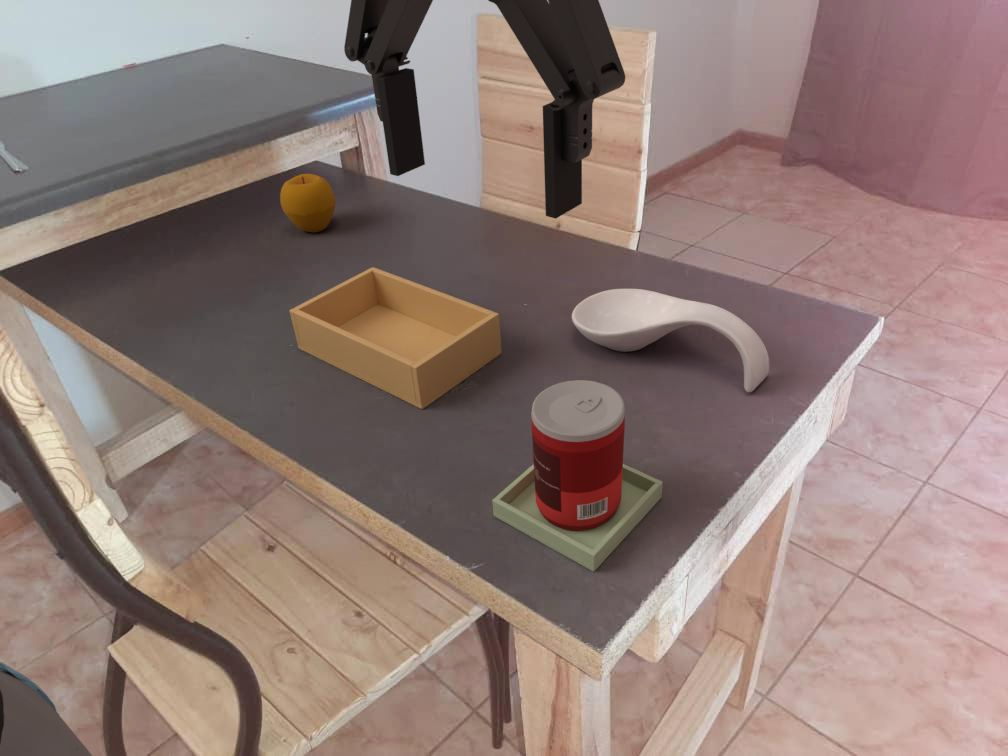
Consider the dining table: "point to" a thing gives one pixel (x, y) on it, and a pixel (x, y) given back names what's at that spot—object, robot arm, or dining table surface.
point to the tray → (583, 545)
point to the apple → (308, 202)
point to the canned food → (578, 453)
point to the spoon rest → (664, 325)
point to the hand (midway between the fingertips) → (480, 188)
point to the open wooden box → (398, 335)
